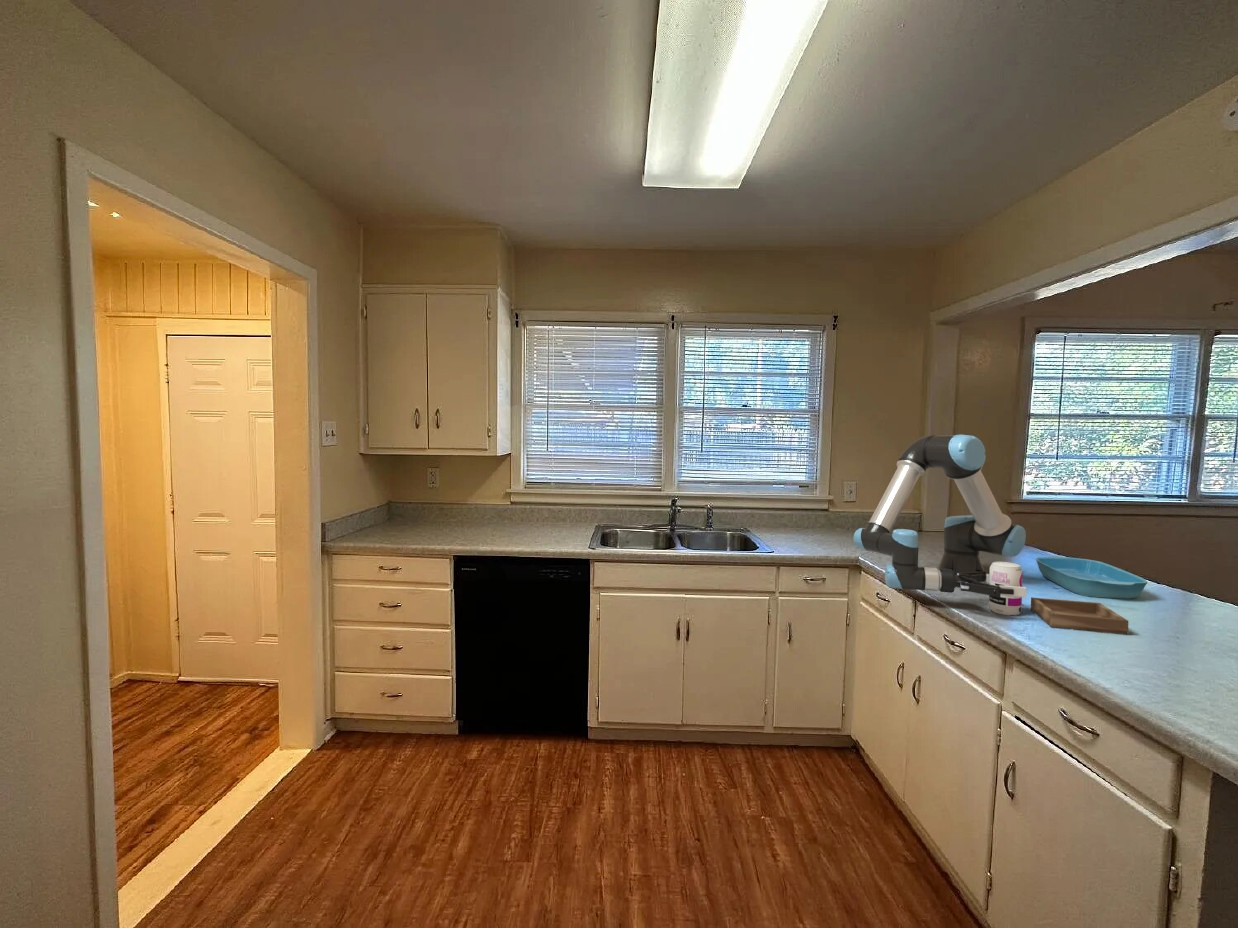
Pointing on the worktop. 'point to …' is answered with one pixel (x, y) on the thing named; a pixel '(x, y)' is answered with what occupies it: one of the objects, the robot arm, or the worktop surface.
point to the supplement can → (1005, 577)
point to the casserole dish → (1091, 577)
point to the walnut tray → (1079, 616)
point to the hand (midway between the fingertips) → (1018, 585)
